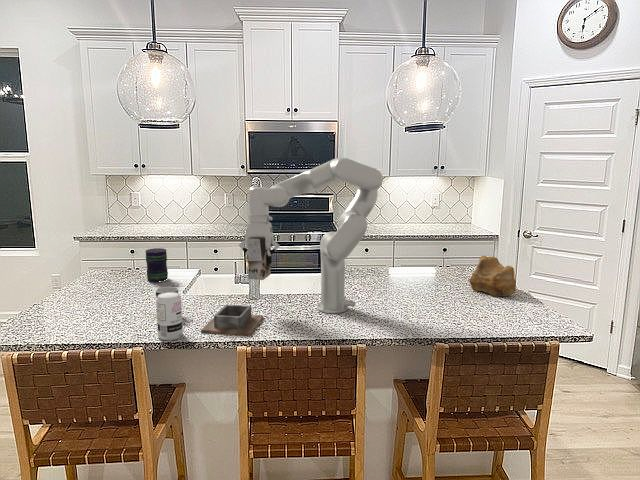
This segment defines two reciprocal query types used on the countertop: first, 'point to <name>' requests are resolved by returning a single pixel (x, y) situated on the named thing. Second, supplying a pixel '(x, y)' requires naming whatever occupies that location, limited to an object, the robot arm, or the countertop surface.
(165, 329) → the supplement can
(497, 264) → the rough brown rock
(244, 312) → the holder stand
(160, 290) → the coffee mug
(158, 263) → the storage jar
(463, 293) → the countertop surface
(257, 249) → the coffee box
